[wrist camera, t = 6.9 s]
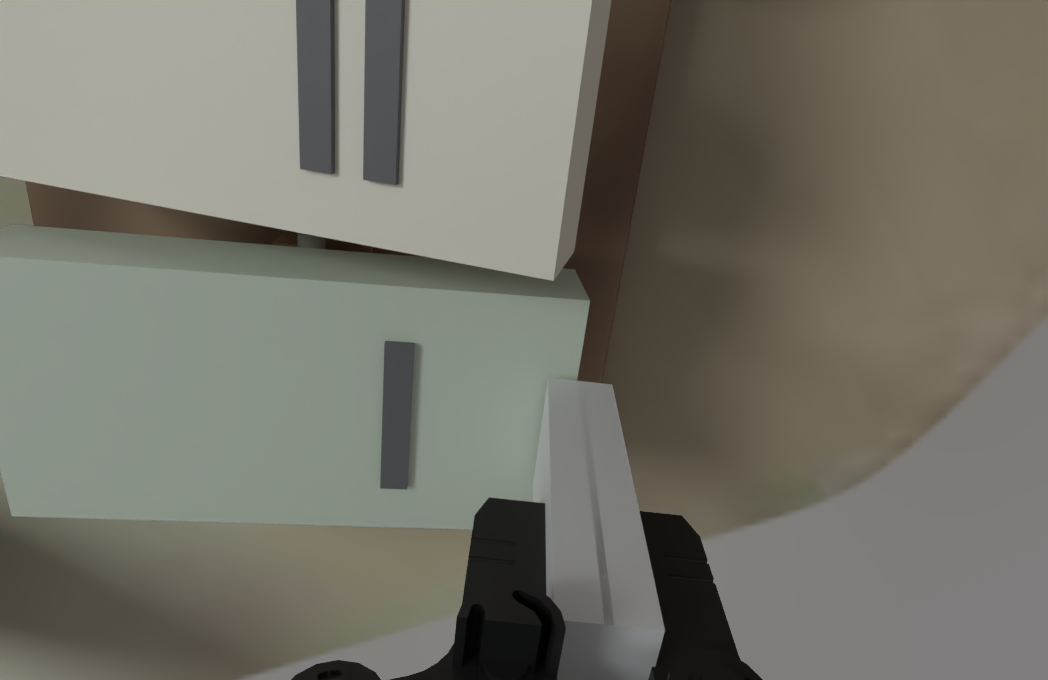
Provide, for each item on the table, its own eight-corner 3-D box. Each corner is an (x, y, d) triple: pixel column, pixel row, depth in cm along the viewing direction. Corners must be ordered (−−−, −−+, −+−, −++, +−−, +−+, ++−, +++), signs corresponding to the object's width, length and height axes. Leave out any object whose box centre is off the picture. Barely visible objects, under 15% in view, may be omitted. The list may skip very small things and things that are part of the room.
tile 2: (66, 160, 15) (-25, 173, 13) (14, -155, 13) (-106, -193, 11) (573, 251, 13) (551, 283, 11) (627, -106, 11) (609, -143, 9)
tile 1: (60, 462, 16) (8, 520, 14) (11, 224, 14) (-60, 255, 12) (542, 481, 18) (552, 535, 16) (574, 269, 15) (591, 303, 14)
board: (92, 412, 20) (19, 477, 17) (-104, -712, 11) (-330, -984, 8) (582, 455, 21) (593, 525, 18) (760, -557, 12) (841, -754, 9)
